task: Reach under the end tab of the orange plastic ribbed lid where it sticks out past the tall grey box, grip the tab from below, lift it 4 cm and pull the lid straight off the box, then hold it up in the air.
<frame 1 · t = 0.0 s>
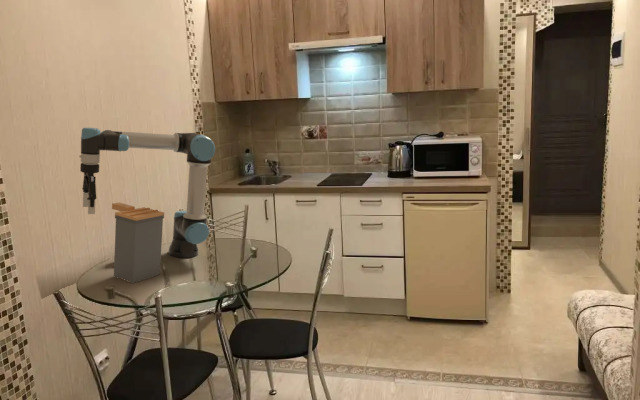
hand: (88, 210, 227), 28 cm above the table, tool pointing down, fingers open, 13 cm apart
tall grey box: (137, 275, 233), on the table
lid: (140, 215, 227), point 28 cm above the table, touching tall grey box
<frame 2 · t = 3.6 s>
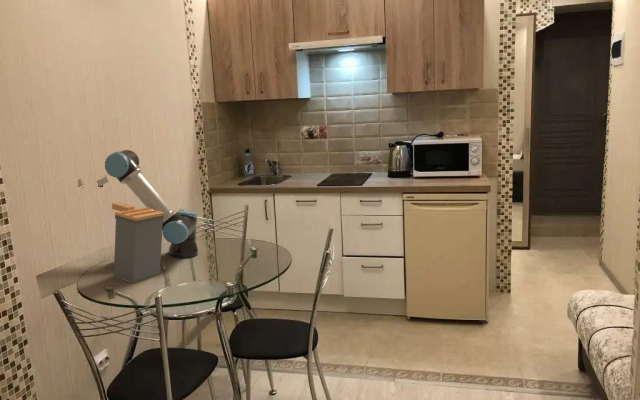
hand: (94, 180, 237), 39 cm above the table, tool pointing upward, fingers open, 13 cm apart
nothing on the table moved.
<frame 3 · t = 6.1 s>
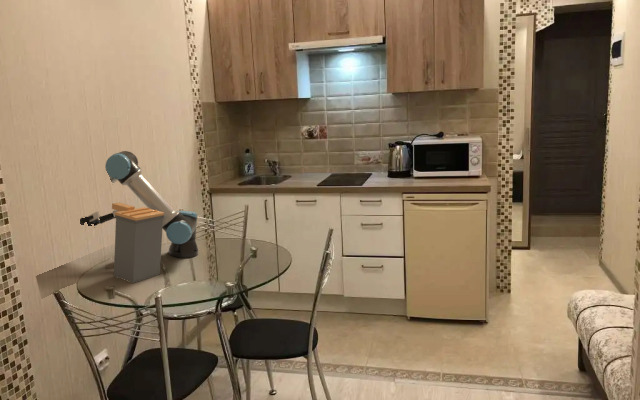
hand: (110, 212, 235), 26 cm above the table, tool pointing upward, fingers open, 13 cm apart
nothing on the table moved.
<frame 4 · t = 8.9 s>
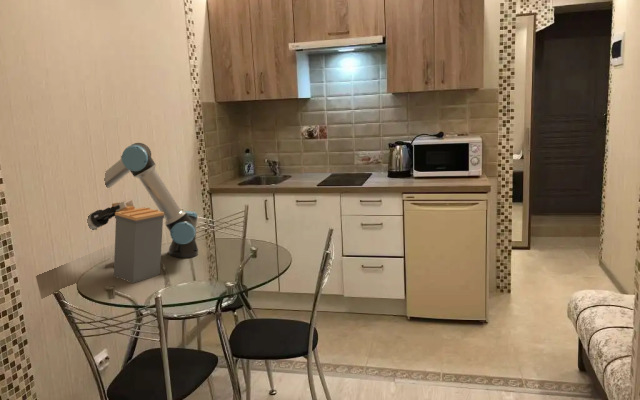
hand: (129, 203, 230), 32 cm above the table, tool pointing upward, fingers closed on lid, 4 cm apart
lid: (140, 215, 227), point 29 cm above the table, touching gripper, tall grey box
everything else where it was.
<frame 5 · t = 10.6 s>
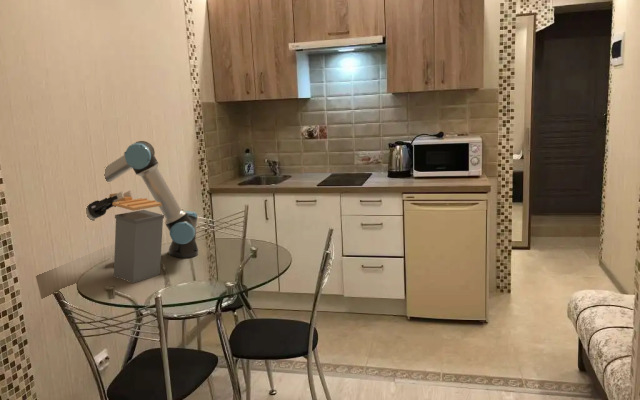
hand: (126, 193, 229), 37 cm above the table, tool pointing upward, fingers closed on lid, 4 cm apart
lid: (137, 205, 227), point 33 cm above the table, touching gripper
everything else where it was.
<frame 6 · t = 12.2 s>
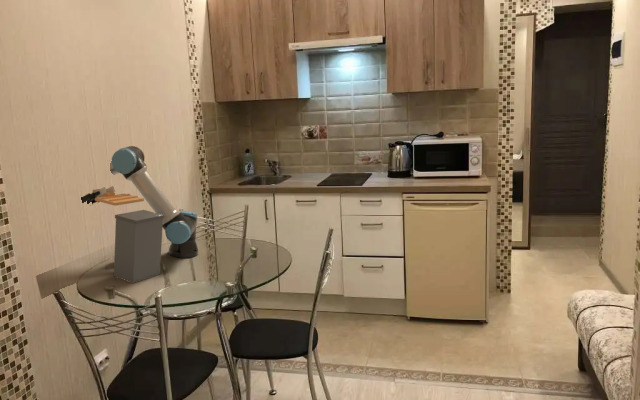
hand: (109, 189, 234), 37 cm above the table, tool pointing upward, fingers closed on lid, 4 cm apart
lid: (119, 200, 232), point 33 cm above the table, touching gripper
everything else where it was.
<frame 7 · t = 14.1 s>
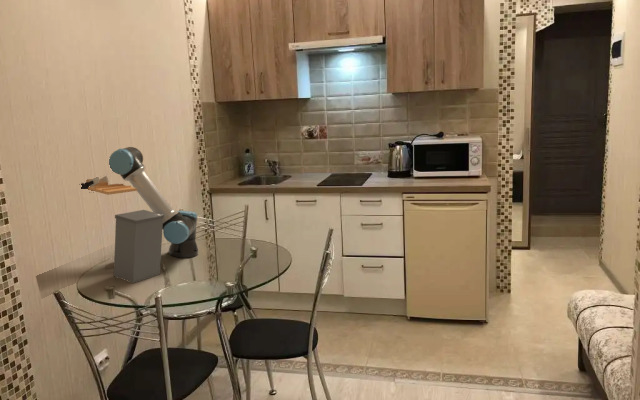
hand: (102, 179, 236), 41 cm above the table, tool pointing upward, fingers closed on lid, 4 cm apart
lid: (113, 190, 233), point 37 cm above the table, touching gripper
everything else where it was.
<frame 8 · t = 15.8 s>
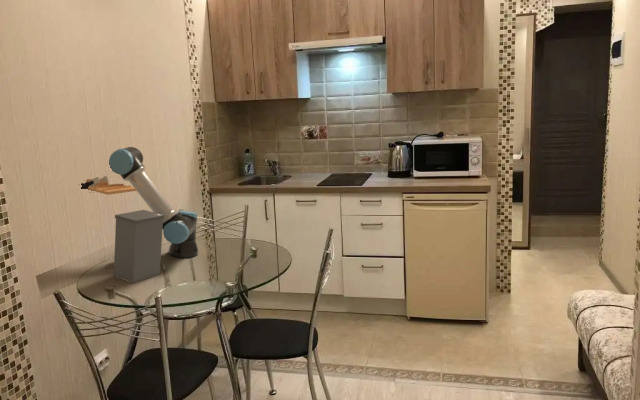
hand: (102, 179, 236), 41 cm above the table, tool pointing upward, fingers closed on lid, 4 cm apart
lid: (113, 190, 233), point 37 cm above the table, touching gripper
everything else where it was.
at the end: lid moved 19.3 cm from its start; lid touching gripper; the gripper is holding lid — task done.
